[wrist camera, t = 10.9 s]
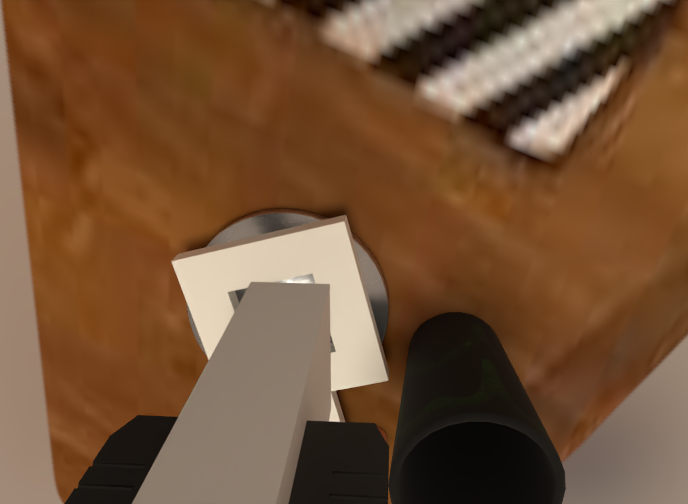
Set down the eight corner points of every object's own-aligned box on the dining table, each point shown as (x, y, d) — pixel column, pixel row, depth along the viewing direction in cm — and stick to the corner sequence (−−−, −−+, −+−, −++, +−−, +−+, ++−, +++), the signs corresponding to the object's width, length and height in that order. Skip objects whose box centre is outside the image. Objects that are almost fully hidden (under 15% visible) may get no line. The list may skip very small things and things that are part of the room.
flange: (178, 253, 37) (121, 317, 30) (346, 214, 36) (331, 270, 28) (265, 489, 43) (236, 593, 35) (414, 464, 41) (418, 568, 34)
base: (152, 299, 40) (87, 376, 32) (284, 165, 36) (250, 213, 28) (293, 422, 42) (267, 524, 34) (430, 308, 39) (439, 391, 30)
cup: (426, 424, 42) (437, 577, 30) (368, 329, 40) (357, 456, 28) (539, 376, 40) (594, 521, 29) (484, 274, 38) (520, 387, 27)
